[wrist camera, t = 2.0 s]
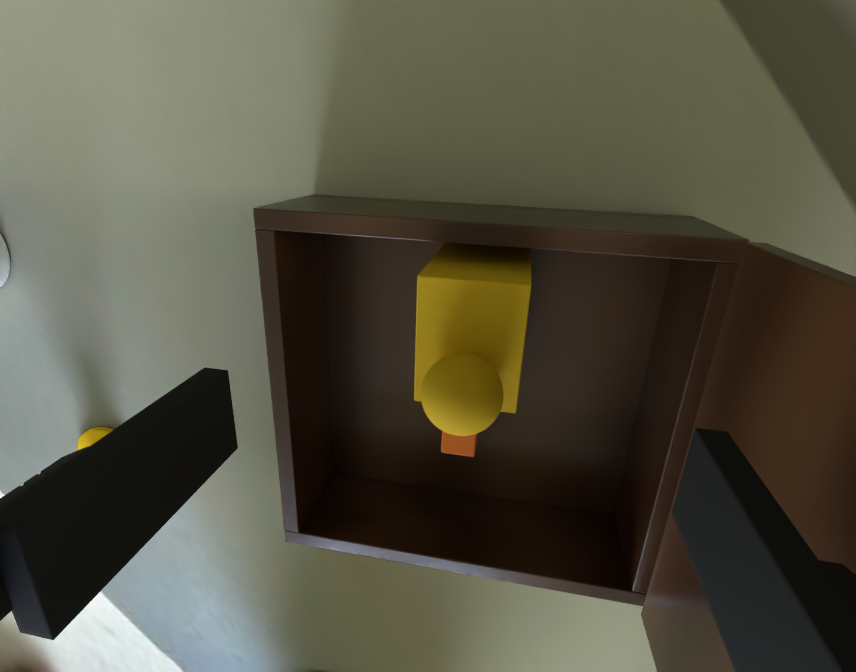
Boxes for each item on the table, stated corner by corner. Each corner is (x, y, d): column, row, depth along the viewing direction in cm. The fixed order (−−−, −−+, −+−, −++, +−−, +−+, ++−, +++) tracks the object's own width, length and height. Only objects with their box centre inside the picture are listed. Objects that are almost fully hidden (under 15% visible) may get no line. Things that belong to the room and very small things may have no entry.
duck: (530, 247, 25) (532, 309, 15) (516, 371, 27) (510, 487, 18) (445, 241, 26) (398, 297, 16) (439, 362, 28) (396, 470, 19)
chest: (326, 473, 34) (285, 542, 28) (312, 194, 27) (252, 208, 21) (623, 519, 31) (646, 607, 25) (695, 216, 24) (750, 240, 18)
